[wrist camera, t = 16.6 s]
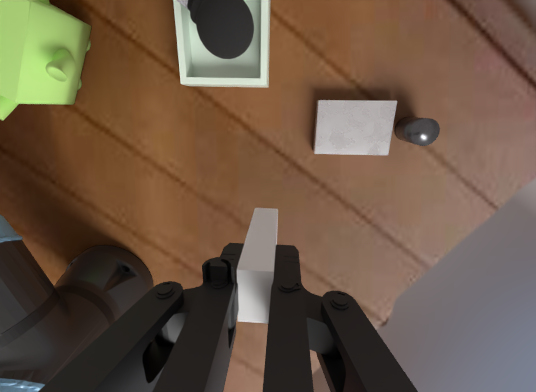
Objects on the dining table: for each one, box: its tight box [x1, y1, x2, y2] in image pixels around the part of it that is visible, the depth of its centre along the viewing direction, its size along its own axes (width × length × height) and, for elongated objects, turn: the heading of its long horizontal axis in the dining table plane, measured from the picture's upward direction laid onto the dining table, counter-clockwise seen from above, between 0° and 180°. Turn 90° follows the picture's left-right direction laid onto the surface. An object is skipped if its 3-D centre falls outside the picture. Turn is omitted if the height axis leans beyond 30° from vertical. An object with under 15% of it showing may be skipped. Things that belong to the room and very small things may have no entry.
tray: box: [173, 0, 270, 88], centre depth 31 cm, size 11×11×3 cm
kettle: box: [0, 0, 92, 120], centre depth 29 cm, size 15×14×11 cm
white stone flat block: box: [313, 100, 397, 155], centre depth 35 cm, size 10×7×2 cm
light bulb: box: [177, 0, 254, 59], centre depth 28 cm, size 6×6×10 cm
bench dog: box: [395, 117, 440, 146], centre depth 33 cm, size 3×3×5 cm
